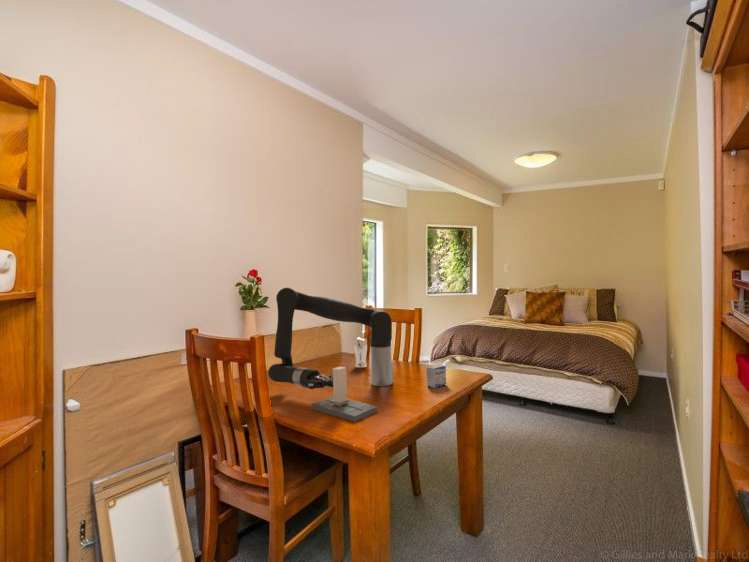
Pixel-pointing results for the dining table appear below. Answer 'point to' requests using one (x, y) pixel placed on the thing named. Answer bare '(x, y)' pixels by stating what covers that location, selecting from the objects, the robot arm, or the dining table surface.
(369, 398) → the dining table surface
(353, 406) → the fader board
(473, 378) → the dining table surface
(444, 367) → the medicine box
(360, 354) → the beer glass
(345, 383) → the beige tall block
